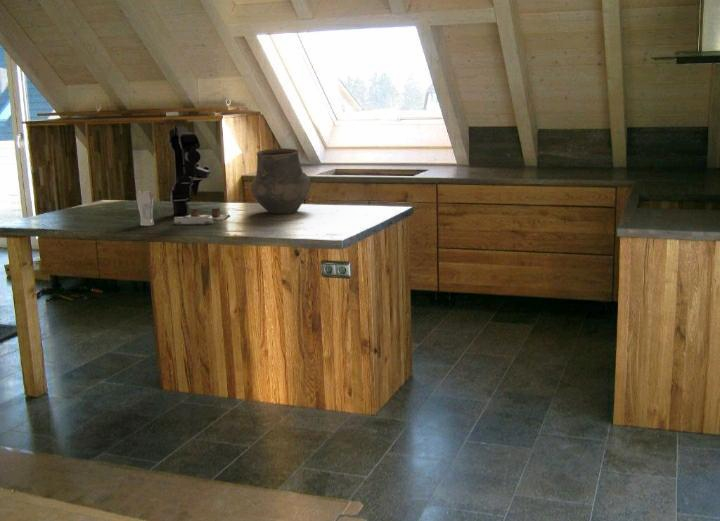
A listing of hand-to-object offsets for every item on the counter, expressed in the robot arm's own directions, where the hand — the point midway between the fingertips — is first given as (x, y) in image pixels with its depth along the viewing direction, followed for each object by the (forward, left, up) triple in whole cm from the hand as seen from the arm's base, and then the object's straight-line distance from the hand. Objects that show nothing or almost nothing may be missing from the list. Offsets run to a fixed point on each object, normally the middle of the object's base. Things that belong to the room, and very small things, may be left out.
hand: (192, 196), depth 372 cm
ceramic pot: (+33, +31, -12) cm, 47 cm away
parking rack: (+1, +13, -12) cm, 18 cm away
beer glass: (-21, -3, -12) cm, 25 cm away
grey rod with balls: (0, 0, -12) cm, 12 cm away
